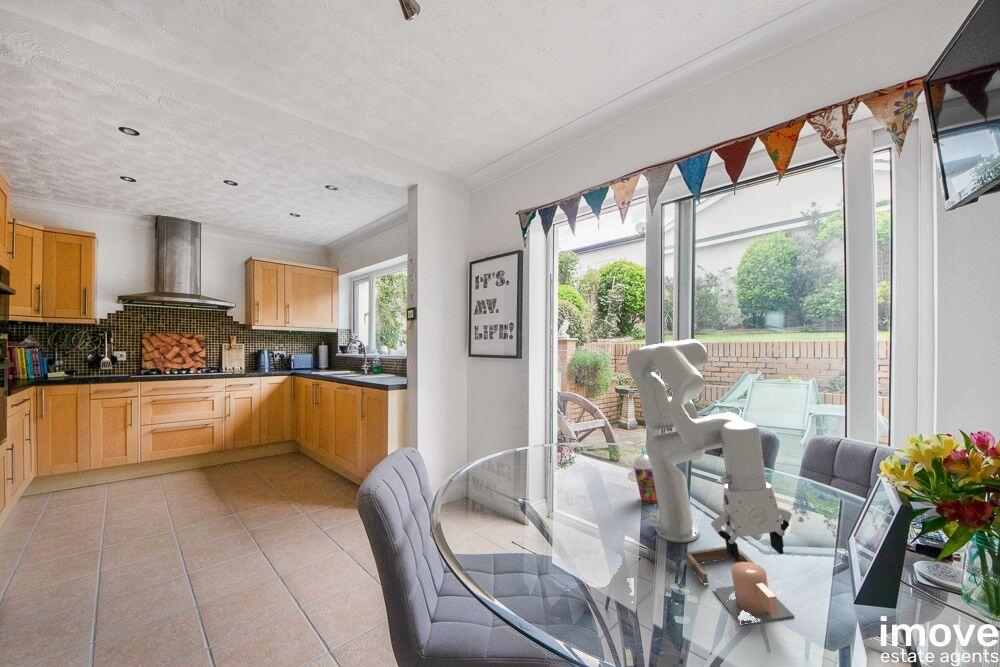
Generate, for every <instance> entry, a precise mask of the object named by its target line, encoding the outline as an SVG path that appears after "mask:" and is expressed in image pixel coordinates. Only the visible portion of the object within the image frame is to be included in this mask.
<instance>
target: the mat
mask: <svg viewBox="0 0 1000 667" xmlns="http://www.w3.org/2000/svg"><path fill="white" fill-rule="evenodd" d="M715 589H716V591H714V592H715V593H716V594H715V593H714V592H713V593H714V594H715V596H716V597H717V598H718V599H719V600H720V602H721V601H722V602H723V603H724V604H725V606H726V607H725V606H724V607H725V608H726V610H728V612H729V613H730V614H731V616H732V615H733V616H734V617H735V618H736V619H735V618H734V617H733V616H732V617H733V618H734V619H735V621H736V620H737V621H738V620H739V619H738V616H739V615H740V612H741V611H742V610H741V609H740V608H739V607H738V605H737V603H736V599H734V600H732V599H730V600H729V596H730V594H732V592H733V593H734V585H728V586H723V587H717V588H715ZM727 600H728V601H727ZM722 602H721V603H722ZM723 603H722V604H723ZM724 604H723V605H724ZM777 604H778V611H779V615H773V616H771V615H770V614H769V613H767V614H765V615H753V614H751V615H752V616H754V617H755V618H757V619H758V618H759V619H761V620H760V621H767V622H773V621H779V620H784V619H791V618H792V619H793V618H795V615H794V614H793V612H791V611H790V610H789V609H788V607H786V606H785V605H784V604H783V603H782V602H781V601H780V600H779V599H778V598H777ZM751 615H750V616H751ZM757 619H756V620H757ZM737 621H736V622H737ZM757 621H758V620H757ZM738 622H739V623H740V620H739V621H738ZM738 622H737V623H738ZM751 622H752V621H751V620H749V621H748V620H747V621H744V620H742V621H741V624H745V623H751ZM754 622H755V621H754ZM739 623H738V624H739Z"/></svg>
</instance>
